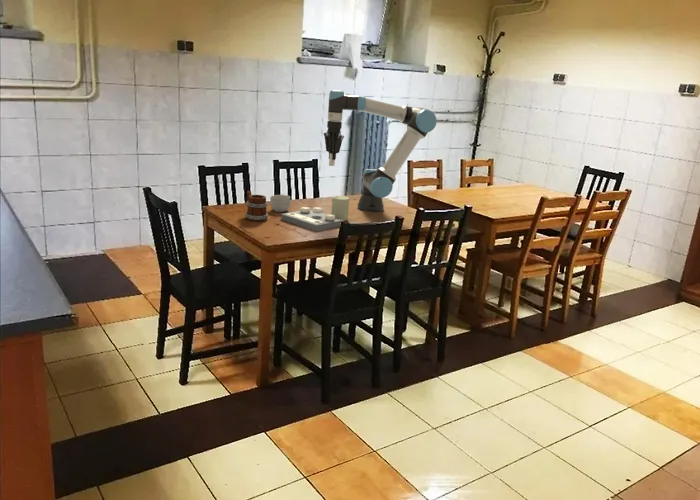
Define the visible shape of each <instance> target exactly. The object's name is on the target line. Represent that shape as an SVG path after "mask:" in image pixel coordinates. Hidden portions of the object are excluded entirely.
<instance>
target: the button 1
mask: <svg viewBox="0 0 700 500" xmlns="http://www.w3.org/2000/svg"><path fill="white" fill-rule="evenodd" d="M310 209H311V208H310V207H308V206H302V207H300V209H299V211H300V212H302V213H310Z"/></svg>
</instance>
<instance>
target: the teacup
mask: <svg viewBox="0 0 700 500" xmlns="http://www.w3.org/2000/svg"><path fill="white" fill-rule="evenodd" d="M269 199H270V200H269V201H270V208H271V210H273V211H274V212H276V213H284V212H285V213H286V212H287V211H288V210H289V209H290V207H291V196H290V195H285V194H275V195H274V194H273V195H271V196H270V197H269Z"/></svg>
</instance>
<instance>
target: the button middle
mask: <svg viewBox="0 0 700 500" xmlns="http://www.w3.org/2000/svg"><path fill="white" fill-rule="evenodd" d="M312 210H313V213H323V208H322V207H318V206H317V207H312Z"/></svg>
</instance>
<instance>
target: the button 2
mask: <svg viewBox="0 0 700 500" xmlns="http://www.w3.org/2000/svg"><path fill="white" fill-rule="evenodd" d="M325 220H328V221H334V220H335V215H331V213H330V214H329V213H328V214H327V215H325Z"/></svg>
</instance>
